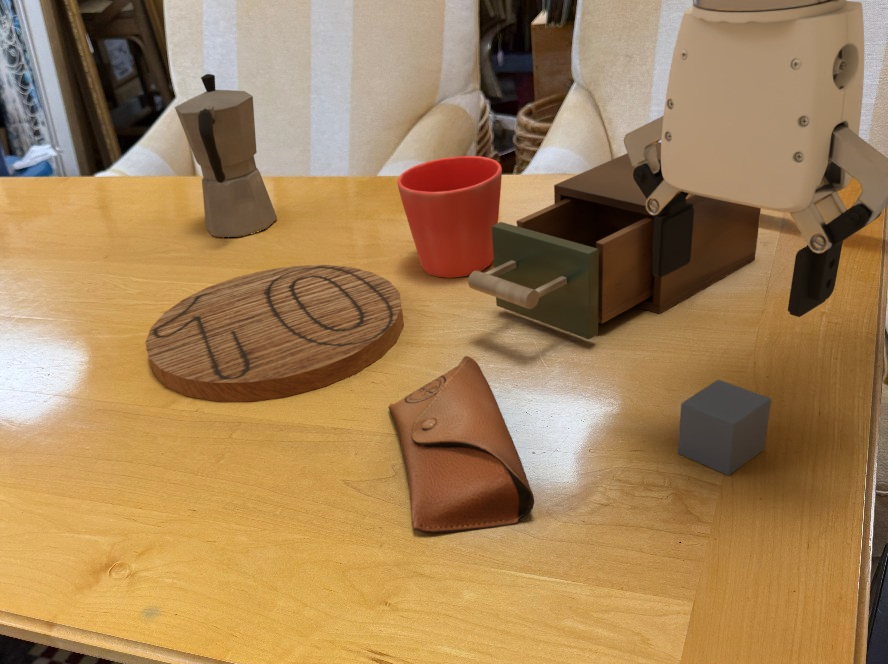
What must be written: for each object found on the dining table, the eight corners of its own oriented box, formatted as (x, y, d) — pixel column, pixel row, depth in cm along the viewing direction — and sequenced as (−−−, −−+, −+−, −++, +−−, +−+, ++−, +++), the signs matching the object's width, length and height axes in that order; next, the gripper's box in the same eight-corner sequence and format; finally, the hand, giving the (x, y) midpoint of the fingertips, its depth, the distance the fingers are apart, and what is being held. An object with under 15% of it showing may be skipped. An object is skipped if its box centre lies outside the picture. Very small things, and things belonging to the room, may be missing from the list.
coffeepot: (213, 212, 122) (177, 67, 111) (282, 202, 121) (252, 56, 111) (195, 256, 110) (153, 98, 99) (272, 246, 109) (238, 86, 98)
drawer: (547, 363, 76) (544, 275, 71) (455, 326, 84) (448, 244, 79) (687, 285, 84) (693, 201, 80) (592, 257, 92) (592, 180, 87)
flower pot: (392, 283, 96) (379, 191, 90) (428, 242, 103) (419, 155, 98) (488, 287, 92) (482, 191, 86) (519, 244, 99) (515, 154, 94)
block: (713, 428, 67) (718, 379, 64) (764, 449, 64) (771, 398, 62) (677, 453, 65) (680, 403, 63) (728, 476, 62) (734, 424, 60)
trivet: (188, 433, 76) (182, 414, 75) (126, 328, 95) (121, 311, 94) (450, 343, 83) (448, 324, 82) (344, 261, 102) (341, 245, 101)
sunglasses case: (380, 402, 75) (413, 332, 72) (456, 426, 77) (491, 359, 74) (412, 536, 61) (455, 456, 57) (504, 561, 63) (551, 485, 60)
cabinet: (659, 314, 82) (665, 210, 77) (555, 281, 91) (553, 184, 85) (755, 259, 89) (766, 159, 83) (650, 233, 97) (653, 141, 92)
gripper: (982, -35, 43) (904, 302, 53) (676, -37, 54) (660, 240, 65) (899, -3, 39) (833, 350, 50) (592, -12, 51) (588, 275, 61)
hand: (735, 287), depth 57 cm, fingers open, 9 cm apart
